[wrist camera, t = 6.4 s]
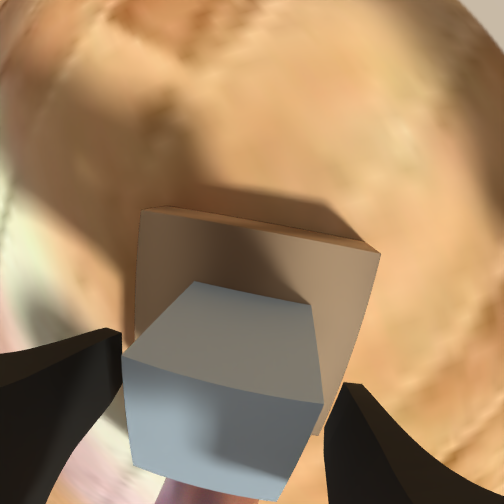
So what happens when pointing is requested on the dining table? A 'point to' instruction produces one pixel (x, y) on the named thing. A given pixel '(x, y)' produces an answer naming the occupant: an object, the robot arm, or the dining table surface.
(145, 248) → the tan block
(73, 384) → the robot arm
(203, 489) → the beverage can
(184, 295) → the pale grey-blue block
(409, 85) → the dining table surface
